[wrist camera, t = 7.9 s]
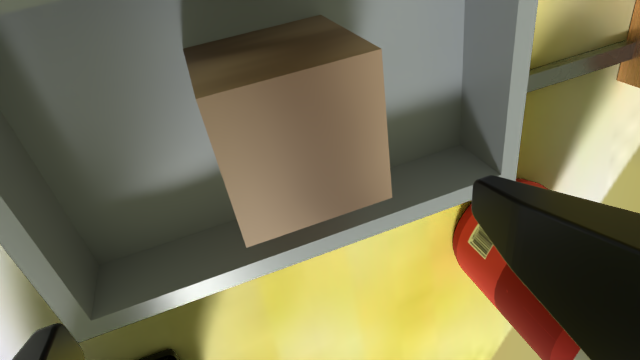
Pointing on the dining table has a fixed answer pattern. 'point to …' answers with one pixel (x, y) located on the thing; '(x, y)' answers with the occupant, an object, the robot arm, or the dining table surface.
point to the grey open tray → (196, 150)
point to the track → (596, 61)
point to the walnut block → (294, 123)
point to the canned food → (510, 291)
